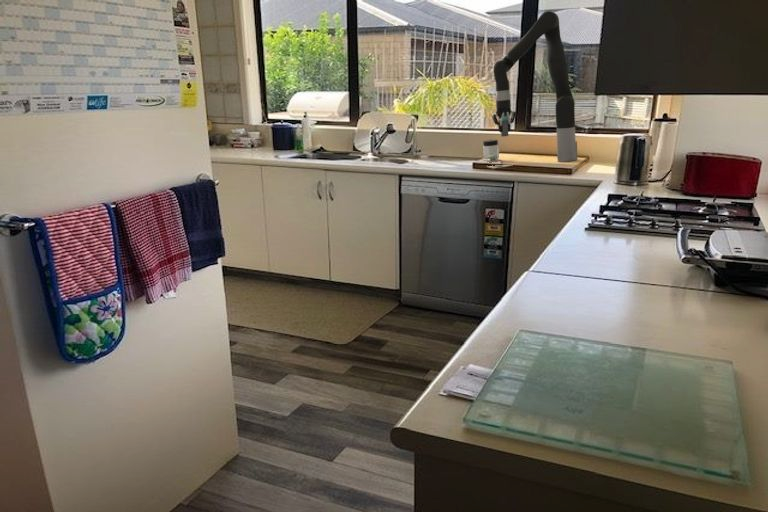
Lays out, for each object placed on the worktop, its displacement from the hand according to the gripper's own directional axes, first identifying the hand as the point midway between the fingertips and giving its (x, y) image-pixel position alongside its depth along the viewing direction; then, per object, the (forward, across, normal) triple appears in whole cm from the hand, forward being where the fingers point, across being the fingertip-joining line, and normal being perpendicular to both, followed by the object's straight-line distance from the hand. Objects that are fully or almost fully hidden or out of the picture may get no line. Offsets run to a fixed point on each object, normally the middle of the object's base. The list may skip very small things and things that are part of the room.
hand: (504, 131), depth 321 cm
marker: (+2, 0, 0) cm, 2 cm away
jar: (+18, -2, +16) cm, 24 cm away
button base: (+17, -6, +4) cm, 19 cm away
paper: (+17, -6, -6) cm, 19 cm away
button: (+15, -6, +4) cm, 17 cm away
